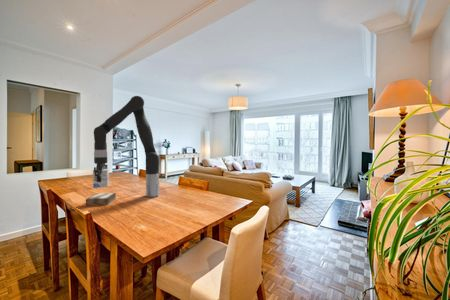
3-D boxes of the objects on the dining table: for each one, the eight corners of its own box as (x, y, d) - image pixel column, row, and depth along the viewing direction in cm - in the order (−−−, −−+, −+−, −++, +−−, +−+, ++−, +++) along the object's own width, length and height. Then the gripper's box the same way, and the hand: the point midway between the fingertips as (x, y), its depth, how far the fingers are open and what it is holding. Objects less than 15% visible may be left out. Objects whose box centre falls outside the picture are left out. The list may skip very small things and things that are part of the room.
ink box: (92, 188, 125) (92, 170, 124) (94, 186, 130) (94, 169, 129) (107, 187, 128) (107, 169, 128) (109, 185, 133) (108, 168, 132)
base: (115, 198, 137) (115, 192, 137) (107, 204, 124) (107, 198, 124) (96, 199, 135) (95, 193, 135) (85, 205, 122) (85, 199, 122)
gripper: (101, 157, 121) (102, 183, 122) (111, 155, 136) (111, 178, 137) (88, 157, 120) (89, 183, 121) (99, 155, 134) (100, 178, 135)
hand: (101, 180), depth 129 cm, fingers closed on ink box, 5 cm apart
